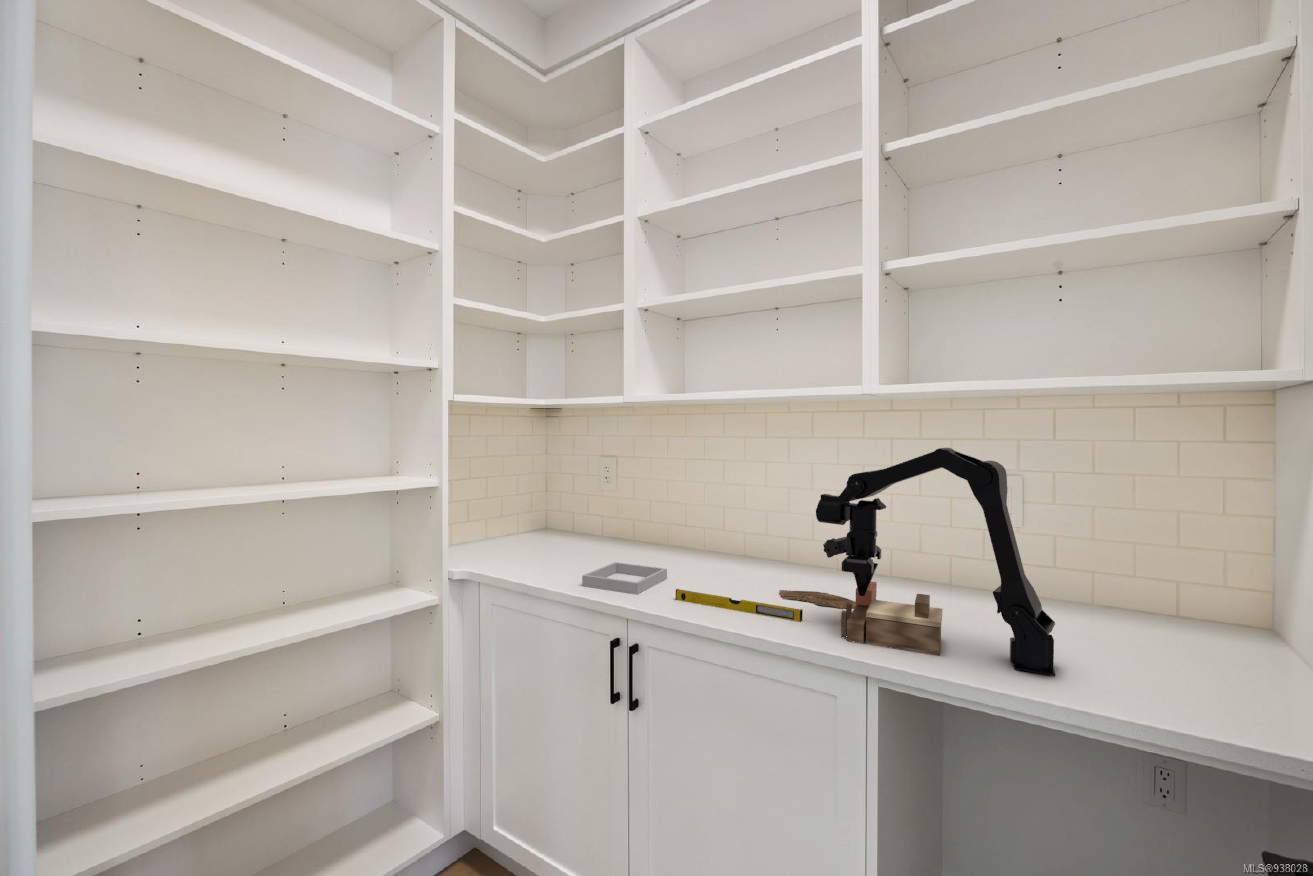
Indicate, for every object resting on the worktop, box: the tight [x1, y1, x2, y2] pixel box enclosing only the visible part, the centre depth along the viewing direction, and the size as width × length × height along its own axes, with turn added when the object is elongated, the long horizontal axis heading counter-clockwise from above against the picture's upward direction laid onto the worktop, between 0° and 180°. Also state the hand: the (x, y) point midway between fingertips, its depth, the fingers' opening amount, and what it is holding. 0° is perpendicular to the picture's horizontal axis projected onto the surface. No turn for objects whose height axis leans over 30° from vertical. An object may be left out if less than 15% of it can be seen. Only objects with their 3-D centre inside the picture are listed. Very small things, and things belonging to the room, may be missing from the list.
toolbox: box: [840, 597, 942, 656], centre depth 132 cm, size 19×21×6 cm
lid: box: [866, 593, 943, 629], centre depth 126 cm, size 14×10×4 cm
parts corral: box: [581, 561, 668, 595], centre depth 172 cm, size 18×18×3 cm
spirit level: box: [675, 588, 804, 623], centre depth 147 cm, size 33×1×3 cm, turn 59°
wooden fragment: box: [778, 589, 856, 610], centre depth 155 cm, size 26×11×1 cm, turn 53°
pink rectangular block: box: [855, 580, 878, 606], centre depth 140 cm, size 4×9×4 cm, turn 153°
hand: (862, 595), depth 135 cm, fingers closed
